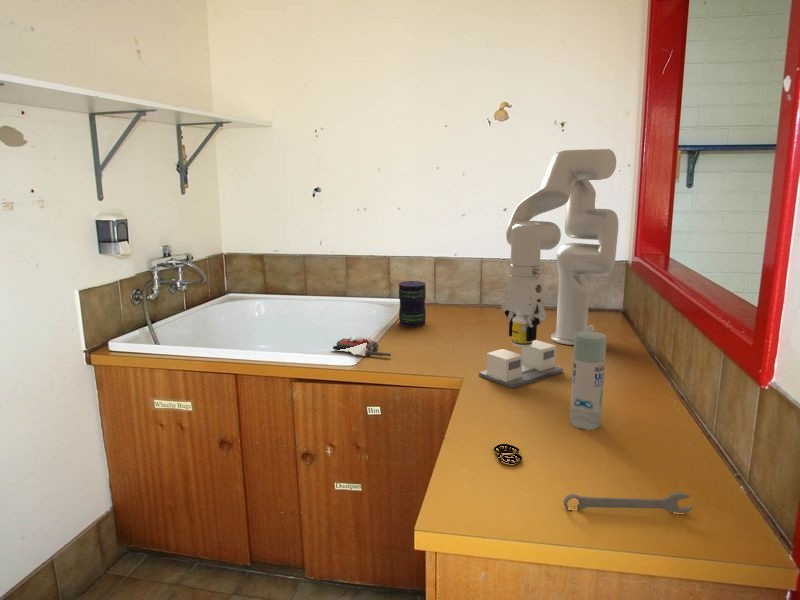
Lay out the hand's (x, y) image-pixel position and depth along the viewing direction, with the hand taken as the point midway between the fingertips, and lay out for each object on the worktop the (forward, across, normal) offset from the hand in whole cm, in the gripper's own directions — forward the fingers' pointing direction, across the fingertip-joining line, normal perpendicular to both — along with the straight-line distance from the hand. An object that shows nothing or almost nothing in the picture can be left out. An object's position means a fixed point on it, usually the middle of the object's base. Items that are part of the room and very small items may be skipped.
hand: (522, 337), depth 152 cm
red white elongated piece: (+11, +43, +23) cm, 50 cm away
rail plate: (+10, 0, 0) cm, 10 cm away
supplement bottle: (+2, 0, 0) cm, 2 cm away
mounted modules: (+9, 0, 0) cm, 9 cm away
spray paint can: (+11, -30, +13) cm, 34 cm away
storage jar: (+10, +61, -10) cm, 63 cm away
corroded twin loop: (+11, -30, +37) cm, 49 cm away
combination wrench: (+11, -54, +35) cm, 66 cm away
